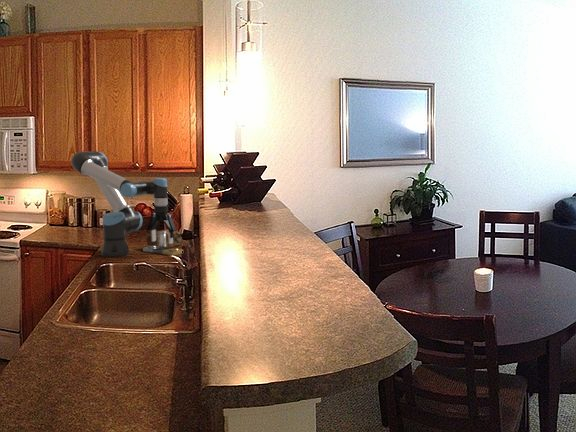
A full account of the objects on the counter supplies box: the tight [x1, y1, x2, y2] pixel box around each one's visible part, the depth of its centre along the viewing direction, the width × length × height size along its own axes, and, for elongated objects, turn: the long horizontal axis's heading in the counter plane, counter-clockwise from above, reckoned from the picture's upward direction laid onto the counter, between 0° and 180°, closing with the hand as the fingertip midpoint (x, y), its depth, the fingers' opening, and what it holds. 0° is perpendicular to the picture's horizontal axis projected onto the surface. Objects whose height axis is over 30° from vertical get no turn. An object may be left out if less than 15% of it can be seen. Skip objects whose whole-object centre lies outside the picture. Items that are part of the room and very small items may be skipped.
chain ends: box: [142, 245, 184, 256], centre depth 311 cm, size 24×8×3 cm, turn 57°
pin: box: [157, 230, 166, 250], centre depth 311 cm, size 5×5×12 cm
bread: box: [146, 228, 182, 248], centre depth 329 cm, size 19×11×10 cm, turn 141°
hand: (162, 242), depth 311 cm, fingers open, 13 cm apart
